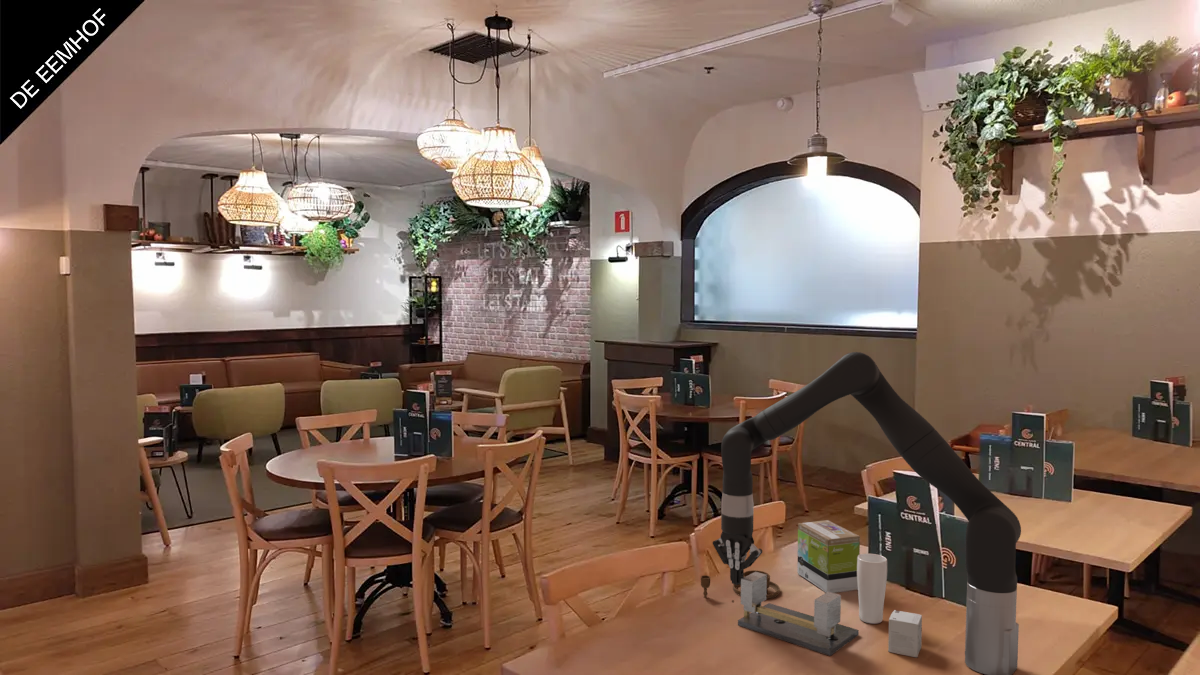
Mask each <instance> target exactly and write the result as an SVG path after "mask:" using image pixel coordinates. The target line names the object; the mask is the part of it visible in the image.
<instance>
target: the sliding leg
mask: <svg viewBox="0 0 1200 675" xmlns="http://www.w3.org/2000/svg"><path fill="white" fill-rule="evenodd" d="M767 590H768V589H767V575H766V574H763V573H759V572H754V573H752V574H750V575H748V576H746V577H743V578H741V585H740V591H741V596H740V605H742V606H743V611H744V610H745V611H749V612H750V613H756V605H759V606H762V603H763V602H765V601H766V600H767V599H766V595H767ZM757 614H761V613H758V612H757Z"/></svg>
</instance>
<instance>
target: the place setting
mask: <svg viewBox="0 0 1200 675" xmlns="http://www.w3.org/2000/svg"><path fill="white" fill-rule="evenodd" d="M754 572H759V573H763V574H766V575H767V590H768V589H769V588H771V589H773V590H774V591H775V592H774V593H769V594H766V600H768V599H773V598H775V597H777V596H778V595H779V593H780V590H781V589H780V586H779V585H778V584H776V582H773V581H771V576H770V574H769V573H768V572H765V571H761V570H754V569H751V570H747V571H744V577H746V576H748V575H750V574H752V573H754ZM700 586H701V587H702V589H703V593H702V594H703V598H704V599H707V598H708V589H709V588H710V586H711V576H709V575H708V574H707V575H705V574H704V575H701V576H700ZM739 587H741V584H739V585H736V584H733V585H732V590H733V591H734V592H735V594H736V595H738V596H740V597H741V590H739V589H737V588H739ZM731 602H732V603H735V599H734V600H733V599H732V600H731Z"/></svg>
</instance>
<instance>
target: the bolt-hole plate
mask: <svg viewBox="0 0 1200 675" xmlns="http://www.w3.org/2000/svg"><path fill="white" fill-rule="evenodd" d="M763 607H766V608H769V609H773V610H776V611H779V612H782V613H786V614H789V615H792V616H795V617H799V618H802V619H805V620H808V621H812V622H814V615H810V614H807V613H803V612H800V611H797V610H794V609H790V608H787V607H784V606H780V605H776V604H774V603H770V602H768V603H766V604H765V605H763ZM737 626H739V627H742V628H745V629H747V630H751V631H755V632H757V633H760V634H762V635H766V636H769V637H772V638H775V639H778V640H781V641H784V642H787V643H790V644H793V645H797V646H799V647H802V648H804V649H809V650H810V651H811V650H812V651H813V652H816V653H819V654H824V655H826V656H829V657H831V656H833V654H835V653H836V652H838V651H839V650H841V649H842V648H843V647H844V646H846V645H847V644H849V643H850V642H851V641H853V640H854V639H856V638H857V637H858V636H859V633H860V632H859V629H857V628H853V627H849V626H847V625H843V624H840V623H838V624H836V628H835V637H834V639H831V638H830V637H828V636H824V635H821V634H818V633H817V631H815V630H812V629H809V628H806V627H803V626H799V625H796V624H793V623H790V622H787V621H784V620H780V619H777V618H774V617H771V616H768V615H764V614H757V612H756V613H752V612H750V617H748V618H745V617H744V616H743V617H741V618H740V619H738V620H737Z"/></svg>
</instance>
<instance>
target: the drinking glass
mask: <svg viewBox="0 0 1200 675" xmlns="http://www.w3.org/2000/svg"><path fill="white" fill-rule="evenodd" d="M887 579H888V559H887V558H886V557H885V556H883V555H881V554H877V553H860V555H858V557H857V585H858V589H857V595H858V596H857V598H858V618H859V620H860V621H862V622H864V623H867V624H871V625H874V624H875V625H876V624H880V623H881V622H883V618H884V617H883V616H884V606H885V605H884V604H885V596H886V590H887V588H886V586H887V581H888V580H887Z"/></svg>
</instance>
